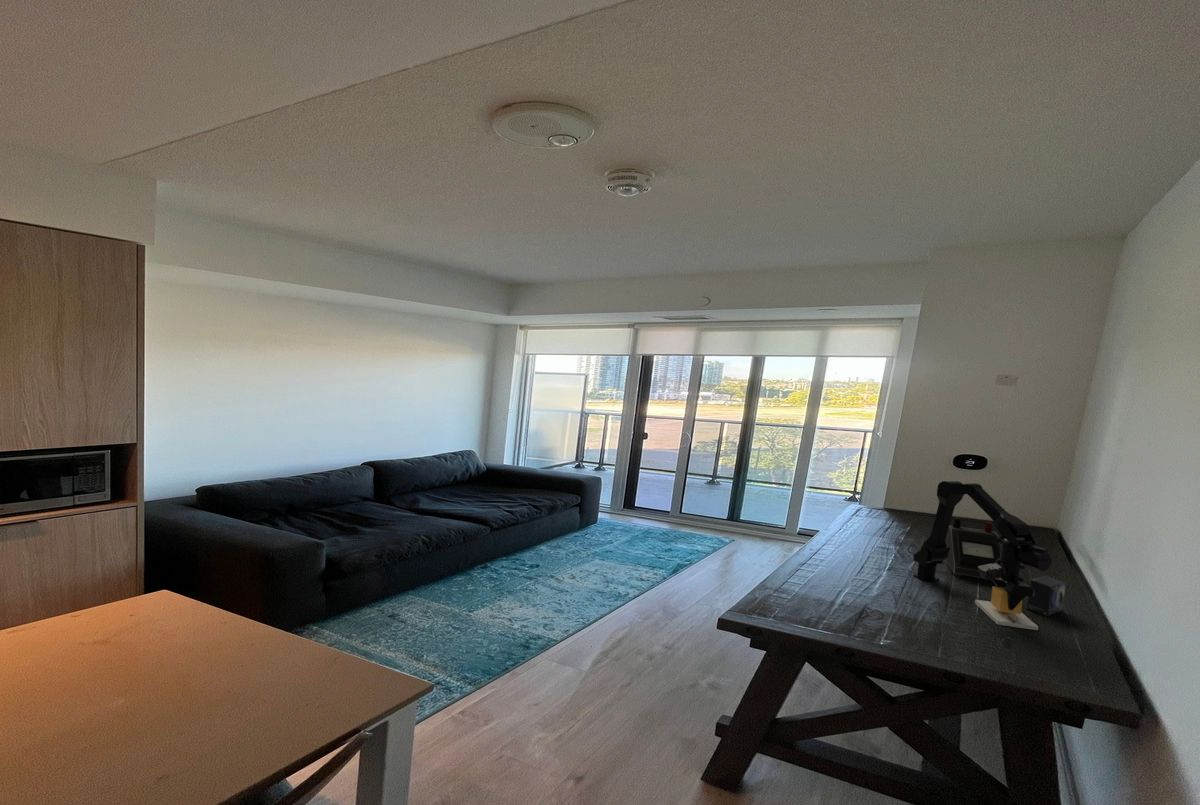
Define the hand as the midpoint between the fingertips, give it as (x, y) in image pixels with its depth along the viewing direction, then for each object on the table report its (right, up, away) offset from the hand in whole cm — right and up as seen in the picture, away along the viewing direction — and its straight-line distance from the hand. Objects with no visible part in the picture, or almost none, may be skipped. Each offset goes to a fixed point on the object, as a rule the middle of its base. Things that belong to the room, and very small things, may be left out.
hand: (1005, 605), depth 175 cm
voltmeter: (+15, -2, +38) cm, 41 cm away
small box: (+18, -4, +6) cm, 20 cm away
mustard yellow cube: (0, -1, 0) cm, 1 cm away
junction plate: (0, -4, 0) cm, 4 cm away
